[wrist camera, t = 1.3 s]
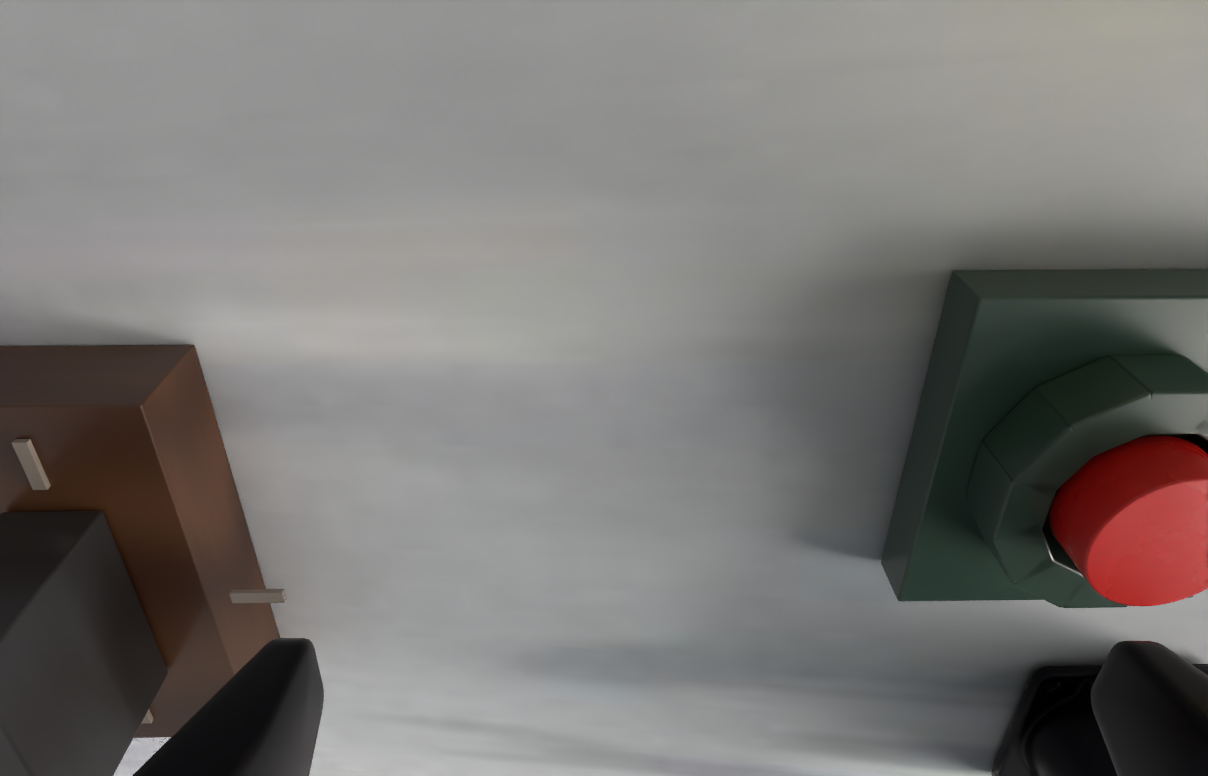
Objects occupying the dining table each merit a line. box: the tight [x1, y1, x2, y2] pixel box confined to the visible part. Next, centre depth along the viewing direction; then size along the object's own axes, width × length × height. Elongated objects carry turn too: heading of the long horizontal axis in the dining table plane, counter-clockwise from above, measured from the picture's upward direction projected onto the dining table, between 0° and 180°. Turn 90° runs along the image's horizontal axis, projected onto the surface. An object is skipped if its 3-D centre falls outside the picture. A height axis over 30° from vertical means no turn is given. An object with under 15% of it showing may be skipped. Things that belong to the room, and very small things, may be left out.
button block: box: [881, 270, 1208, 608], centre depth 22 cm, size 10×9×4 cm
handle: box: [0, 511, 168, 776], centre depth 19 cm, size 6×2×5 cm, turn 0°
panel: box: [0, 345, 286, 738], centre depth 23 cm, size 12×12×3 cm
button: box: [1050, 435, 1208, 606], centre depth 20 cm, size 4×4×2 cm
